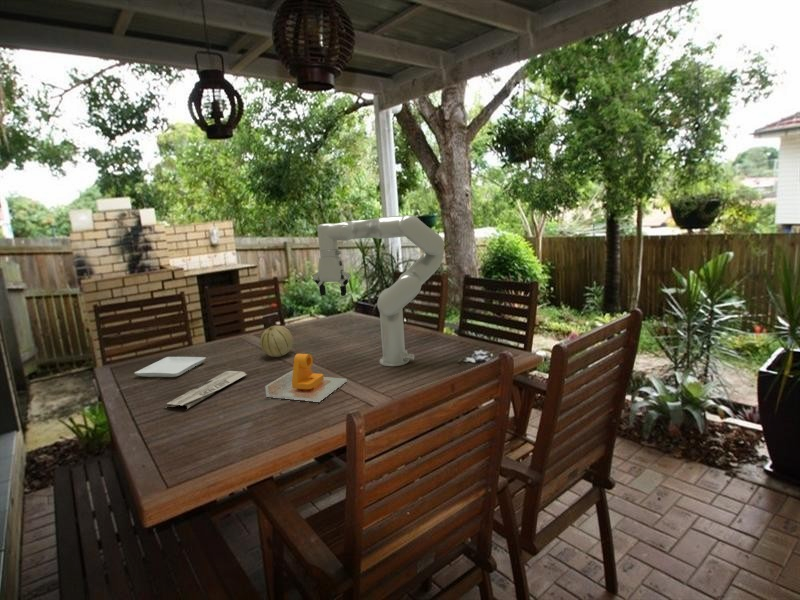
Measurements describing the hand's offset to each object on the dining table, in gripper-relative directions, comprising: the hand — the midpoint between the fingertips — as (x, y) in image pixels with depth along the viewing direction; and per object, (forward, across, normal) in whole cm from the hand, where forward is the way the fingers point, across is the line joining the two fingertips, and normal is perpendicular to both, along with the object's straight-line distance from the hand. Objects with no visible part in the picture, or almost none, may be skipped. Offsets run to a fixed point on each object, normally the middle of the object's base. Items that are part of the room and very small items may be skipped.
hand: (333, 295), depth 189 cm
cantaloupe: (+31, +36, -6) cm, 48 cm away
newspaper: (+31, +36, +37) cm, 61 cm away
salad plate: (+31, +73, +21) cm, 82 cm away
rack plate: (+30, -2, +28) cm, 41 cm away
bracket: (+29, -2, +28) cm, 40 cm away
